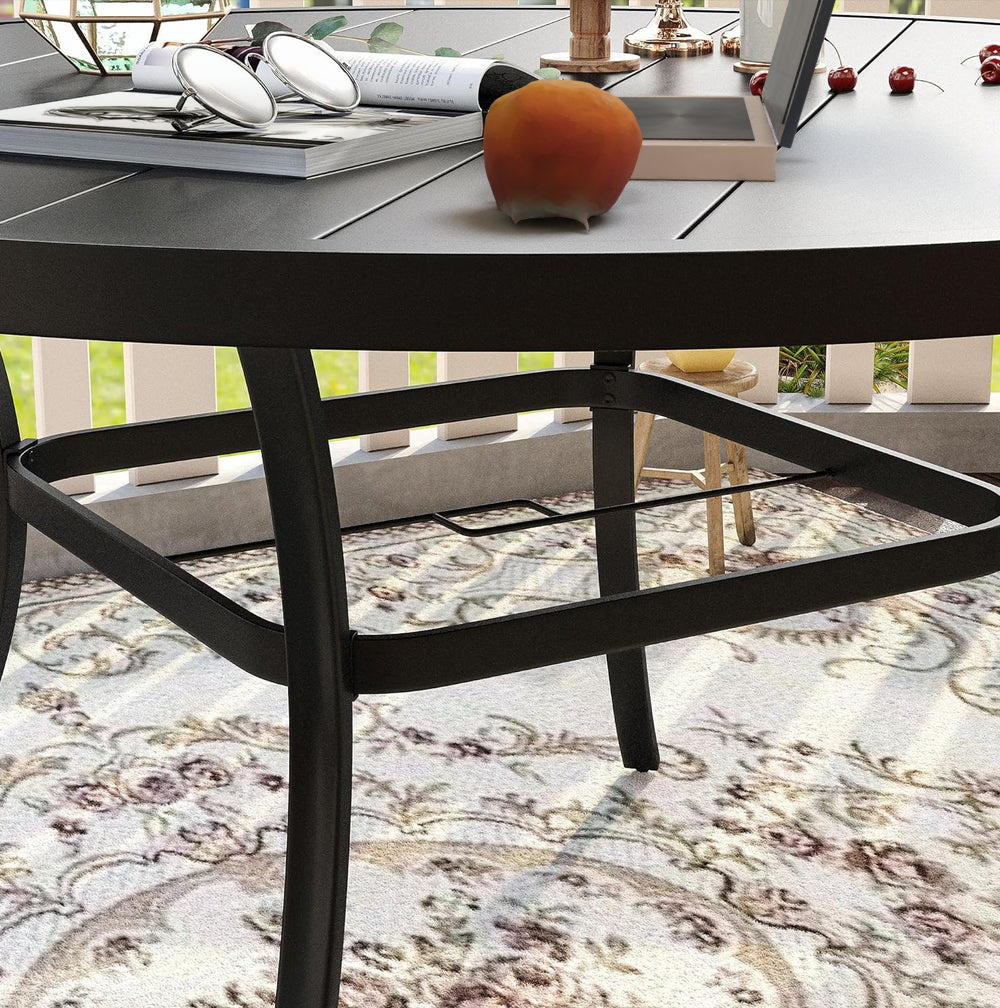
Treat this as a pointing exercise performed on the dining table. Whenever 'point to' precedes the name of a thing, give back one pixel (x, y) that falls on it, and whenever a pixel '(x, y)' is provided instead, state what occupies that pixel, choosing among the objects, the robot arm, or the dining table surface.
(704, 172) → the beige flat box
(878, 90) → the dining table surface
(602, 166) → the fruit
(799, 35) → the laptop screen
